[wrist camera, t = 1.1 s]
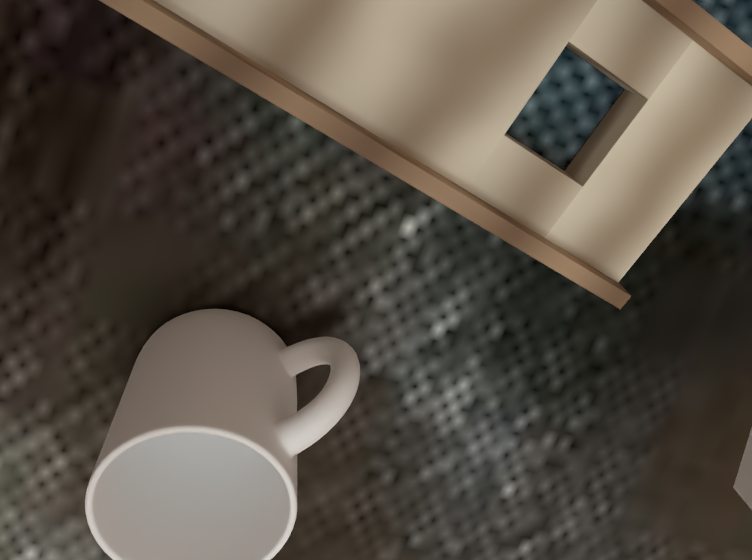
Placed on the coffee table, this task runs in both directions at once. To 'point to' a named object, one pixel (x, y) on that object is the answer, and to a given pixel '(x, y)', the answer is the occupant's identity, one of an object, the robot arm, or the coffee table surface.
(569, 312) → the coffee table surface
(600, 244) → the tray
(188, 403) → the mug
